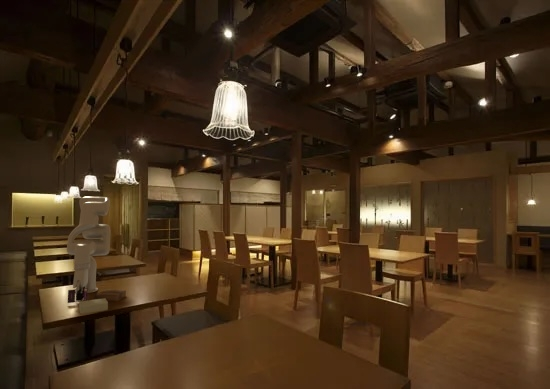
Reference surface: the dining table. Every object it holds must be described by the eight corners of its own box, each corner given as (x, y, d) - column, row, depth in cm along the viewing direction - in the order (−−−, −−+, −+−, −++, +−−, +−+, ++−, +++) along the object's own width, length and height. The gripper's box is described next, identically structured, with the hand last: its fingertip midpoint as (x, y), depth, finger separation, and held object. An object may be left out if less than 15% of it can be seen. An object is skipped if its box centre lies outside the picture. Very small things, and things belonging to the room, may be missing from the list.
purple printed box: (68, 290, 167) (87, 288, 171) (68, 290, 171) (87, 288, 176) (67, 303, 165) (87, 300, 170) (67, 303, 169) (86, 300, 174)
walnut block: (105, 296, 185) (106, 289, 185) (125, 296, 185) (125, 290, 185) (95, 301, 175) (96, 294, 175) (116, 302, 175) (116, 294, 175)
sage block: (79, 309, 161) (79, 301, 161) (104, 305, 168) (105, 298, 168) (80, 314, 153) (80, 306, 153) (107, 310, 160) (108, 302, 160)
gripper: (79, 262, 178) (77, 294, 177) (69, 269, 161) (67, 304, 161) (93, 262, 180) (92, 293, 180) (85, 269, 164) (83, 303, 164)
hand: (80, 298), depth 170 cm, fingers closed on purple printed box, 4 cm apart
